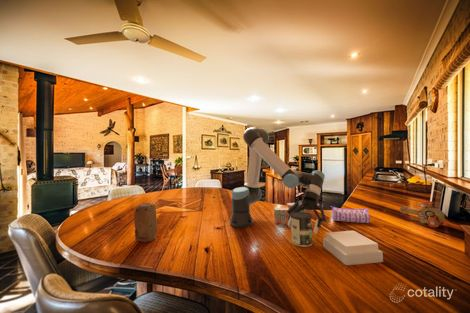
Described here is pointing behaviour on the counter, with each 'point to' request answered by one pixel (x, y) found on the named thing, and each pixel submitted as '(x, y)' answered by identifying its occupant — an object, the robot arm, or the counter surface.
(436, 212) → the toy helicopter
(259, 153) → the robot arm
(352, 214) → the pencil case
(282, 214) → the stack of blocks
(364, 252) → the tower base
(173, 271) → the counter surface
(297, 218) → the coffee can
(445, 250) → the counter surface
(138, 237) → the block
